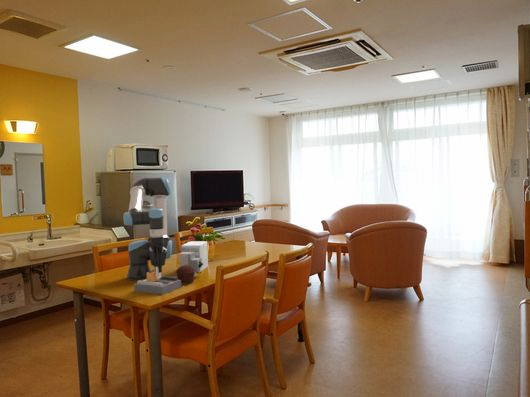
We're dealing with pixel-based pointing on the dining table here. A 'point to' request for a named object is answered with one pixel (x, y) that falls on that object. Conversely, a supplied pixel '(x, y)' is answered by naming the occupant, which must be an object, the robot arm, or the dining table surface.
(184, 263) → the circuit breaker
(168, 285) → the breaker panel
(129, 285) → the dining table surface
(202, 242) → the supplement box
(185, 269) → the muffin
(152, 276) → the breaker toggle
